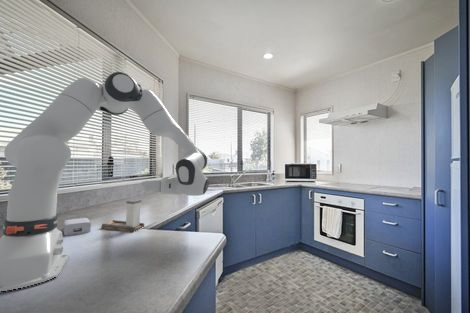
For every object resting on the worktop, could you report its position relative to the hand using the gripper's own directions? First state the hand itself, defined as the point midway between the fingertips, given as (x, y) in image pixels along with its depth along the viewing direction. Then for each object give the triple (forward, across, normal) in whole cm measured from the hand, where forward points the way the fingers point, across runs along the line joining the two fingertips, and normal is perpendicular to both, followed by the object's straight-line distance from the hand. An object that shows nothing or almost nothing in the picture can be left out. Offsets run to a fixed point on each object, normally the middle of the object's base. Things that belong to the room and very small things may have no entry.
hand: (146, 182), depth 104 cm
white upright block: (+6, 0, +21) cm, 22 cm away
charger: (+29, +8, +22) cm, 38 cm away
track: (+11, 0, +22) cm, 25 cm away
